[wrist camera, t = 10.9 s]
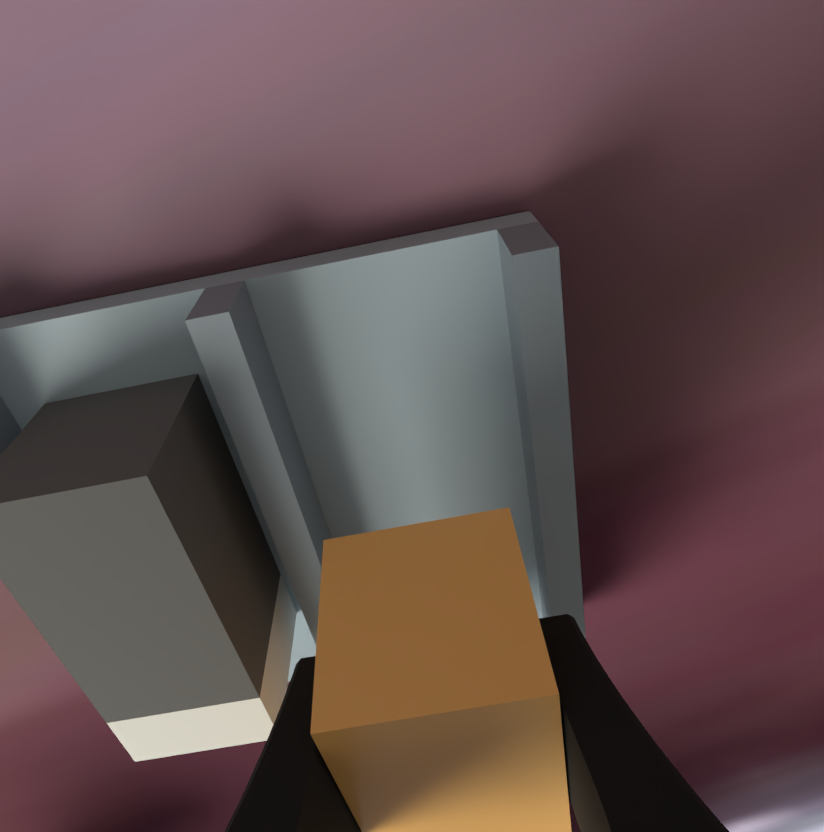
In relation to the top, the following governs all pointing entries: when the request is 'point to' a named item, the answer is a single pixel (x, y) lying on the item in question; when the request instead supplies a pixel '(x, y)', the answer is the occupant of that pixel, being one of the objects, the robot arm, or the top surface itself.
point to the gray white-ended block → (148, 567)
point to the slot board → (353, 390)
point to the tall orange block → (438, 681)
